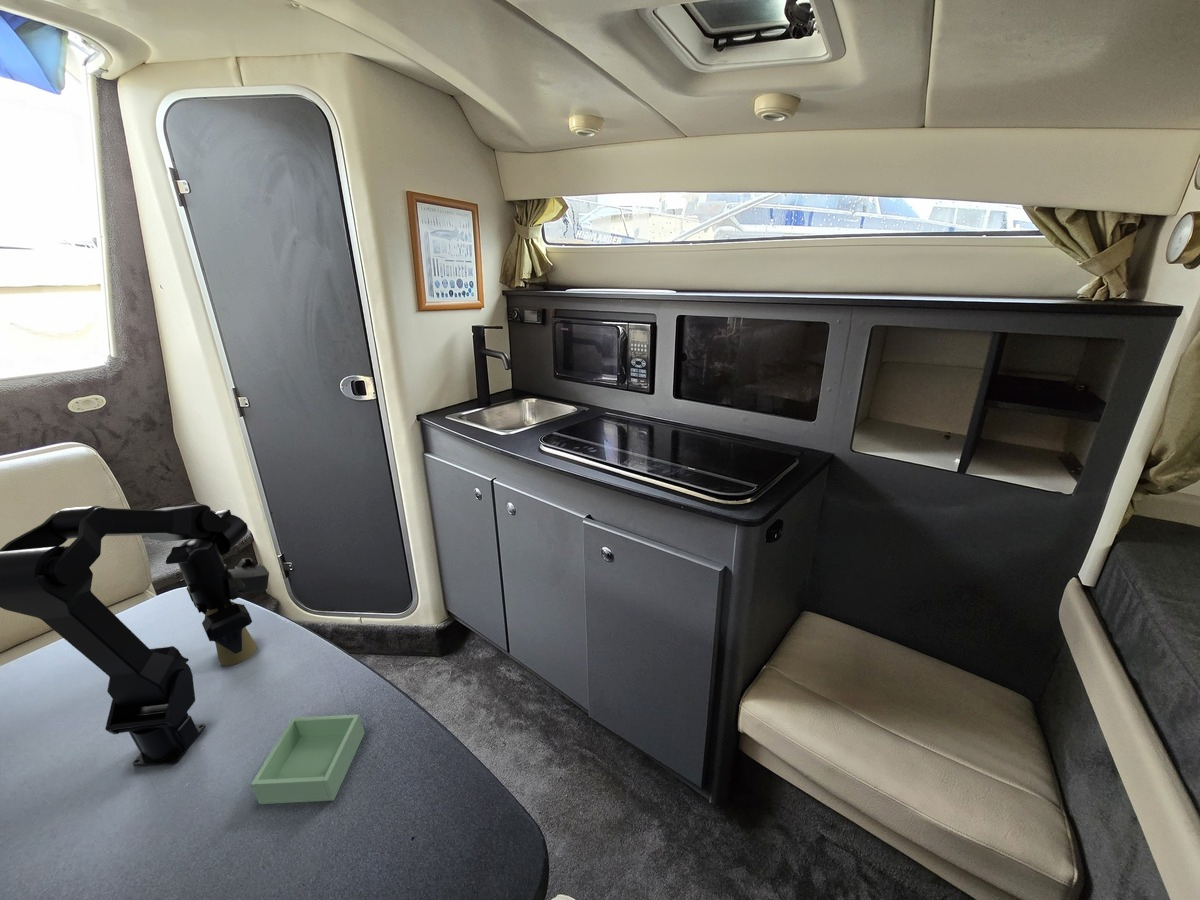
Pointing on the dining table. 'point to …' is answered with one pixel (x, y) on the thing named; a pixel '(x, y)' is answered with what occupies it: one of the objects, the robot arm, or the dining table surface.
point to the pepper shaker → (229, 657)
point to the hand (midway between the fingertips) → (232, 639)
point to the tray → (309, 760)
